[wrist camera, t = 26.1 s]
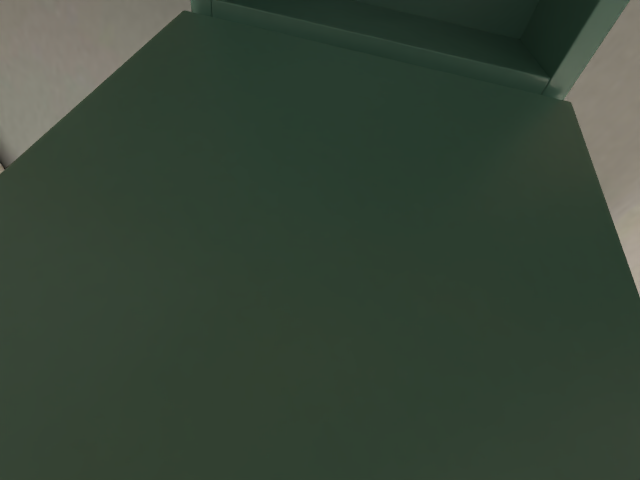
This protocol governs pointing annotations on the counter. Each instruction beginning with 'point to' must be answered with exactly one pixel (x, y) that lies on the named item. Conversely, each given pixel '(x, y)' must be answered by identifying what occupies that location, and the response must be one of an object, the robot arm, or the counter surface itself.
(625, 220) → the counter surface
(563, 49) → the chest
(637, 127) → the counter surface
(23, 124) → the counter surface
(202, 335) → the lid
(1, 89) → the counter surface
